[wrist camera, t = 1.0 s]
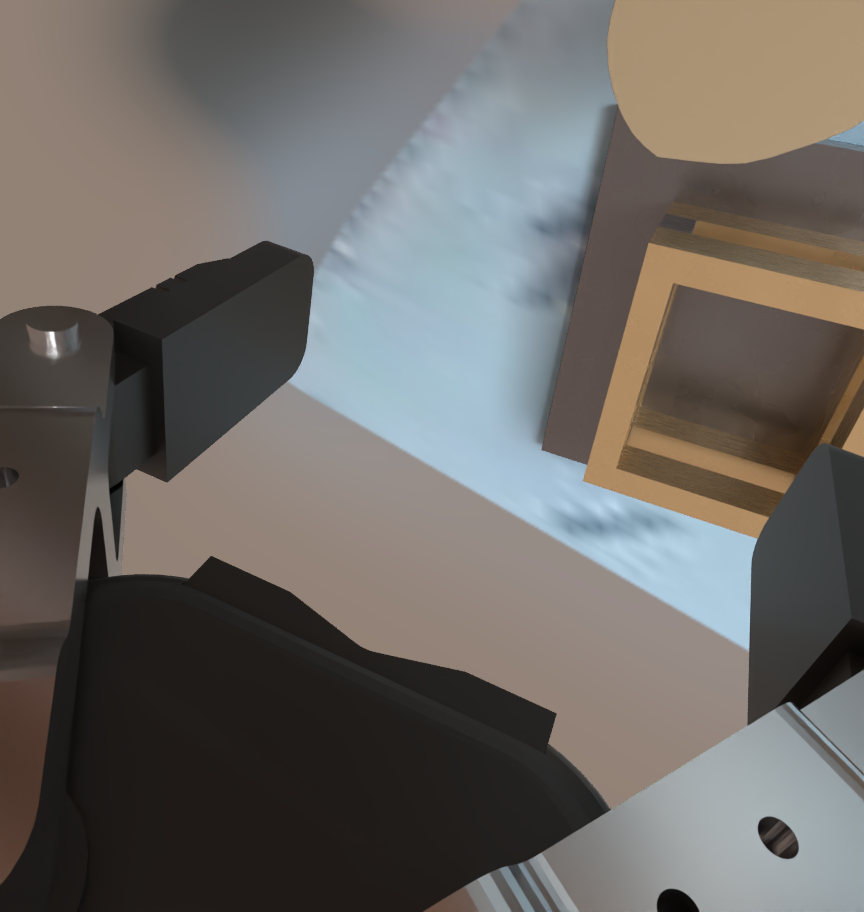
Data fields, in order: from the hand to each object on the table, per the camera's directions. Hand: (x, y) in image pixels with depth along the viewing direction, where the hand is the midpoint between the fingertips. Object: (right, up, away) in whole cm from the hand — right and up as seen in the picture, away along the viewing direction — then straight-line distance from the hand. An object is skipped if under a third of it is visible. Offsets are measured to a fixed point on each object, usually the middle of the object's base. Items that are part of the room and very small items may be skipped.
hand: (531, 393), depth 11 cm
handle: (+11, +15, +14) cm, 24 cm away
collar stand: (+13, +4, +21) cm, 25 cm away
